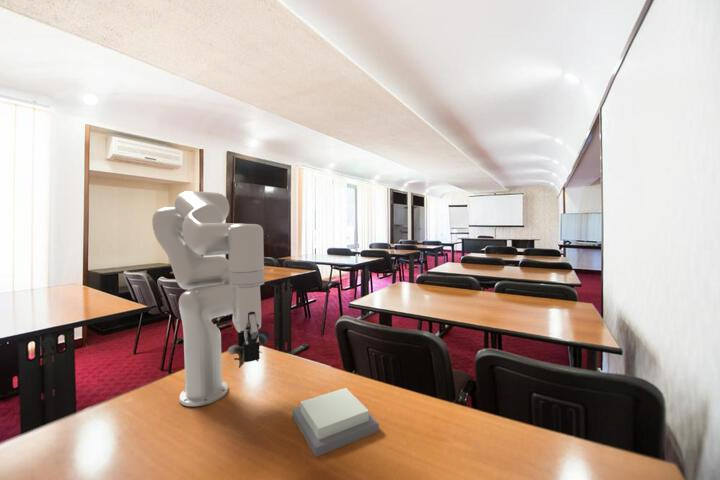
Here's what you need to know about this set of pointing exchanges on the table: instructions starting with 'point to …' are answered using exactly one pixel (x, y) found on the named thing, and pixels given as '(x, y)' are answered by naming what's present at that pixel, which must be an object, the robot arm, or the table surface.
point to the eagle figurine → (240, 350)
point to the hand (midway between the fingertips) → (248, 353)
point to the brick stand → (333, 421)
